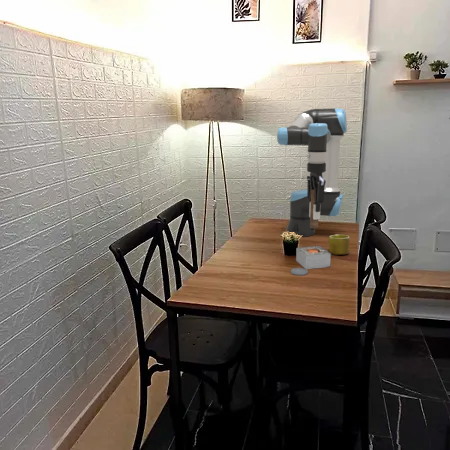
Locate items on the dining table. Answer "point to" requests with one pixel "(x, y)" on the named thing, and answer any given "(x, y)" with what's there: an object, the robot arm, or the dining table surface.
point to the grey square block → (313, 257)
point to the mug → (339, 244)
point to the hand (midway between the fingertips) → (314, 217)
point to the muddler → (312, 222)
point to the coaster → (299, 271)
